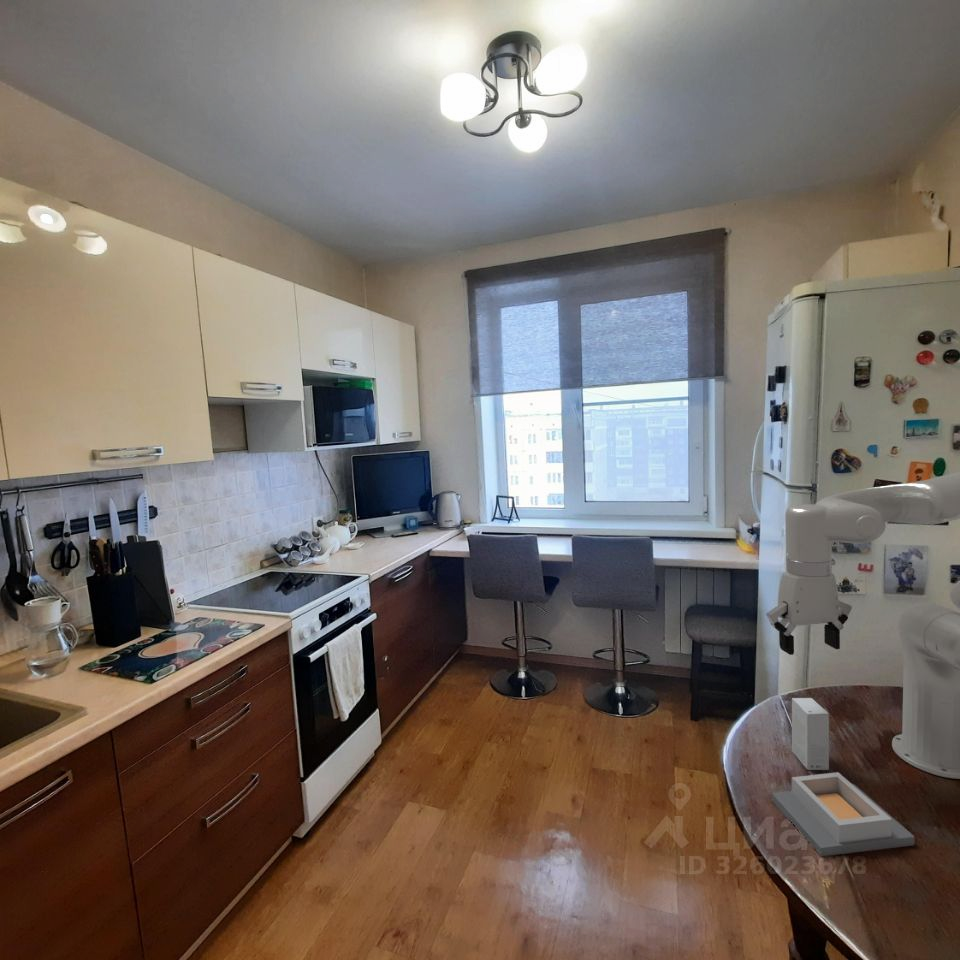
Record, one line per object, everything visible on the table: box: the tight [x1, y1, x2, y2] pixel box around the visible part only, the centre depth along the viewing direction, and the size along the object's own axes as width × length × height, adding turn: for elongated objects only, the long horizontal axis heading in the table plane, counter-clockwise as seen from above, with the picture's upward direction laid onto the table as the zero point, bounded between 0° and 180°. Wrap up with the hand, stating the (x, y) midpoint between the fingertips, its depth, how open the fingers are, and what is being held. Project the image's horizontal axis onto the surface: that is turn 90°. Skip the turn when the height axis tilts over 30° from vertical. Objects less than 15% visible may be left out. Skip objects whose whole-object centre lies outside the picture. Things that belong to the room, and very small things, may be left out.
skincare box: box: [791, 697, 830, 771], centre depth 99 cm, size 6×4×12 cm
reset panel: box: [771, 771, 915, 857], centre depth 85 cm, size 16×12×5 cm
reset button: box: [816, 793, 862, 820], centre depth 85 cm, size 6×8×2 cm
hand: (809, 649), depth 98 cm, fingers open, 9 cm apart
